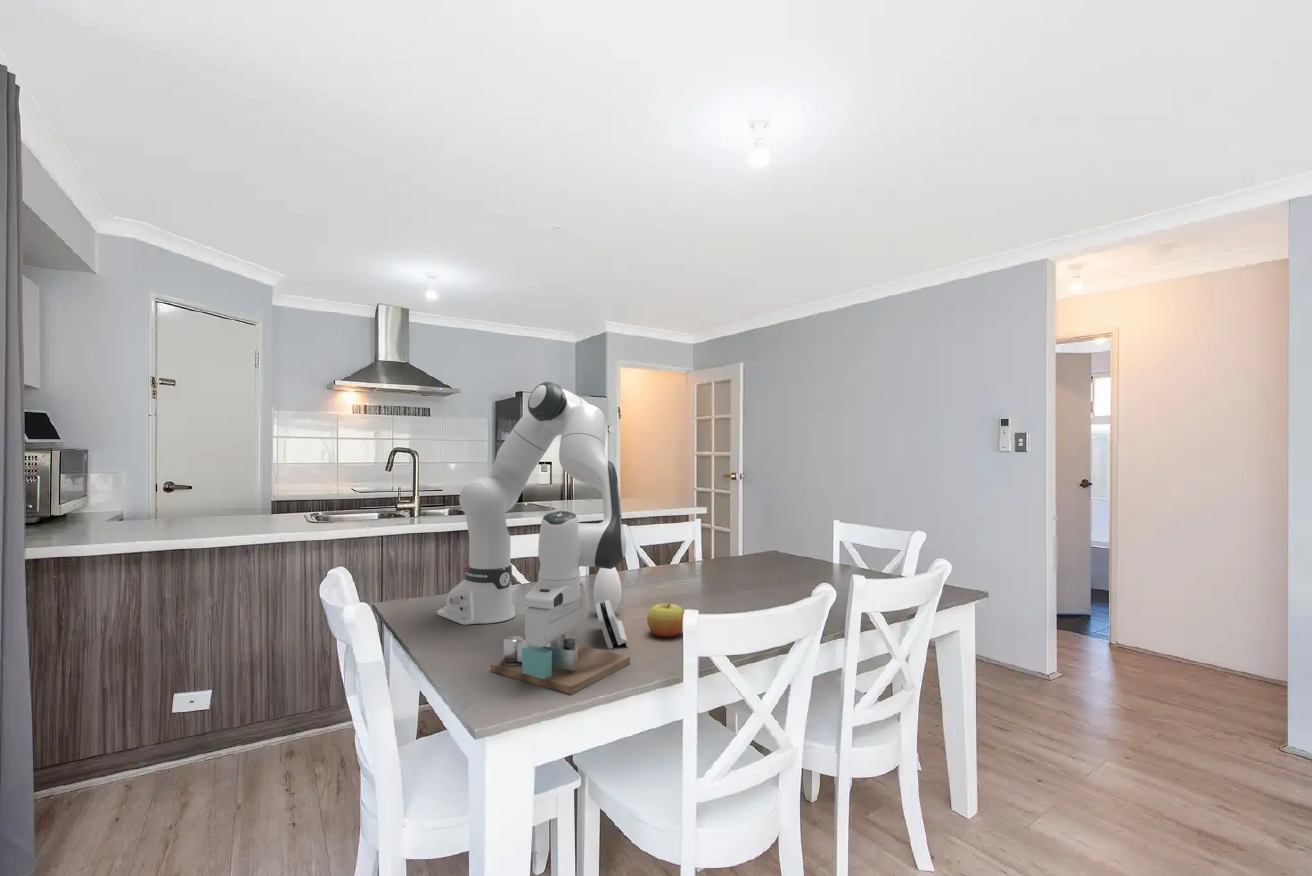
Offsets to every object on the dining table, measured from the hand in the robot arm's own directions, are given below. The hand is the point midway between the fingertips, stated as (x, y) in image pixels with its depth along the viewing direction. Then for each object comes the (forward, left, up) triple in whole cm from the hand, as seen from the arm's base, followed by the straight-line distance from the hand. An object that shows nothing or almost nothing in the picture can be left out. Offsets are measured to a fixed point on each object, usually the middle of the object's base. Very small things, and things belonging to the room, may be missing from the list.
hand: (558, 654), depth 128 cm
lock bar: (-3, -3, -1) cm, 4 cm away
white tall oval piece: (-17, +41, -4) cm, 44 cm away
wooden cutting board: (-1, +2, -4) cm, 4 cm away
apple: (+6, +35, -4) cm, 35 cm away
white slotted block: (-4, +25, -4) cm, 26 cm away
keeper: (0, -7, -2) cm, 7 cm away
